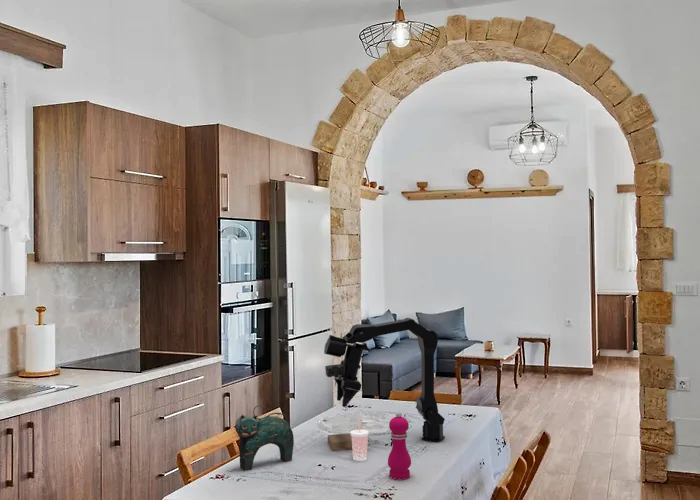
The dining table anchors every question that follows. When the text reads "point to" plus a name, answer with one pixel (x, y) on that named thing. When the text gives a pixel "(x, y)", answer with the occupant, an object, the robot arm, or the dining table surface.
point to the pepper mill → (399, 448)
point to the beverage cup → (359, 443)
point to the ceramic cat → (263, 437)
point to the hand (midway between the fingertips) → (341, 403)
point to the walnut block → (340, 442)
